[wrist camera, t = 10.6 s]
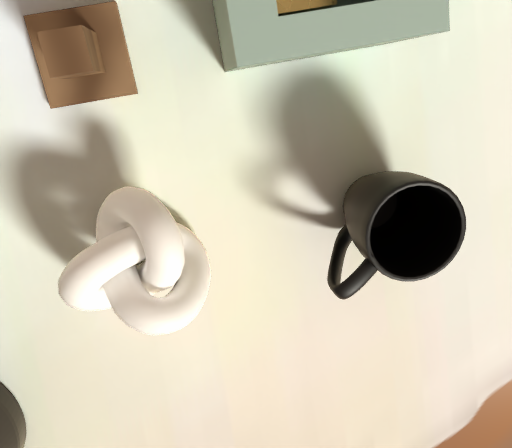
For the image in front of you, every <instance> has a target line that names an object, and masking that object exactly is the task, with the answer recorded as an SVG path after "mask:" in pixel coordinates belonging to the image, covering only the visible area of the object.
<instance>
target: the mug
mask: <svg viewBox="0 0 512 448" xmlns="http://www.w3.org/2000/svg"><path fill="white" fill-rule="evenodd" d="M343 210H344V214H345V221H346V225H344V226H343V228H342V229H341V230H340V232H339V233H338V236H337V238H336V241H335V244H334V248H333V252H332V256H331V261H330V265H329V270H328V284H329V287H330V289H331V290H332V291H333V292H334V294H335V295H336V296H337V297H338V298H340V299H347V298H349V297H351V296H352V295H353V294H355V293H356V292H357V291H358V290H359V289H361V288H362V287H363V286H364V285H365V284H366V283H367V281H368V280H369V279H370V278H371V277H372V276H373V275H374V274H375V273H376V271H377V270H378V271H379V272H381V273H382V274H383V275H385V276H387V277H389V278H391V279H395V280H399V281H417V280H422V279H426V278H428V277H430V276H433V275H435V274H436V273H438V272H439V271H441V270H442V269H444V268H445V267H446V266H447V265H448V264H449V263H450V262H451V261H452V260H453V259H454V257H455V255H456V254H457V252H458V251H459V249H460V247H461V245H462V242H463V240H464V235H465V230H466V216H465V213H464V209H463V206H462V204H461V202H460V201H459V199H458V197H457V196H456V195H455V194H454V193H453V192H452V191H451V190H450V188H448V187H446V186H444V185H443V184H441V183H439V182H436V181H434V180H431V179H429V178H426V177H423V176H420V175H417V174H413V173H409V172H393V171H388V172H381V173H376V174H371V175H366V176H364V177H361V178H359V179H358V180H356V181H355V182H354V183H353V184H352V185H351V186H350V187H349V189H348V190H347V192H346V194H345V197H344V201H343ZM351 241H353V242H354V244H355V245H356V247H357V248H358V250H359V251H360V253H361V254H362V255H363V256H364V257H365V260H364V261H363V262H362V264H361V265H360V266H359V267H358V268H357V269H356V270H355V271H354V272H353V273H352V274H351V275H350V276H349V277H348V278H347V279H346V280H345V281H343V282H342V283H341V284H340V279H341V272H342V266H343V261H344V257H345V253H346V250H347V248H348V246H349V244H350V243H351Z"/></svg>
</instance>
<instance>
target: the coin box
mask: <svg viewBox="0 0 512 448" xmlns="http://www.w3.org/2000/svg"><path fill="white" fill-rule="evenodd" d="M212 2H213V7H214V13H215V19H216V24H217V30H218V36H219V41H220V47H221V53H222V58H223V64H224V70H225V72H228V71H233V70H239V69H245V68H251V67H257V66H262V65H268V64H274V63H280V62H285V61H291V60H297V59H303V58H308V57H314V56H320V55H326V54H332V53H337V52H343V51H349V50H355V49H360V48H366V47H372V46H378V45H383V44H388V43H393V42H398V41H403V40H408V39H412V38H417V37H422V36H427V35H432V34H437V33H441V32H446V31H450V25H449V0H337V4H336V5H334V6H333V7H331V8H327V9H321V10H315V11H309V12H303V13H297V14H291V15H285V16H279V17H278V10H277V3H276V0H212Z"/></svg>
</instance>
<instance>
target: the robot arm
mask: <svg viewBox="0 0 512 448" xmlns="http://www.w3.org/2000/svg"><path fill="white" fill-rule="evenodd" d="M25 439H26V423H25V418H24V415H23V412H22V410H21V408H20V406H19V404H18V402H17V401H16V399H15V398H14V396H13V395H12V394H11V393H10V392H9V391H8V390H7V389H6V388H5V387H4V386H3V385H2V384H1V383H0V448H23V447H24V444H25Z"/></svg>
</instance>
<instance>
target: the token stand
mask: <svg viewBox="0 0 512 448" xmlns="http://www.w3.org/2000/svg"><path fill="white" fill-rule="evenodd" d="M24 20H25V23H26V26H27V30H28V33H29V37H30V40H31V43H32V47H33V50H34V54H35V57H36V61H37V64H38V67H39V71H40V74H41V78H42V81H43V84H44V88H45V91H46V95H47V98H48V101H49V105H50V108H51V109H52V108H57V107H63V106H69V105H75V104H80V103H86V102H92V101H97V100H103V99H109V98H115V97H120V96H126V95H132V94H138V91H137V87H136V83H135V79H134V74H133V70H132V66H131V62H130V57H129V53H128V49H127V45H126V40H125V36H124V32H123V28H122V23H121V19H120V15H119V10H118V6H117V3H116V2H115V1H113V2H107V3H101V4H94V5H88V6H82V7H75V8H69V9H63V10H56V11H50V12H44V13H37V14H31V15H25V16H24Z"/></svg>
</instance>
